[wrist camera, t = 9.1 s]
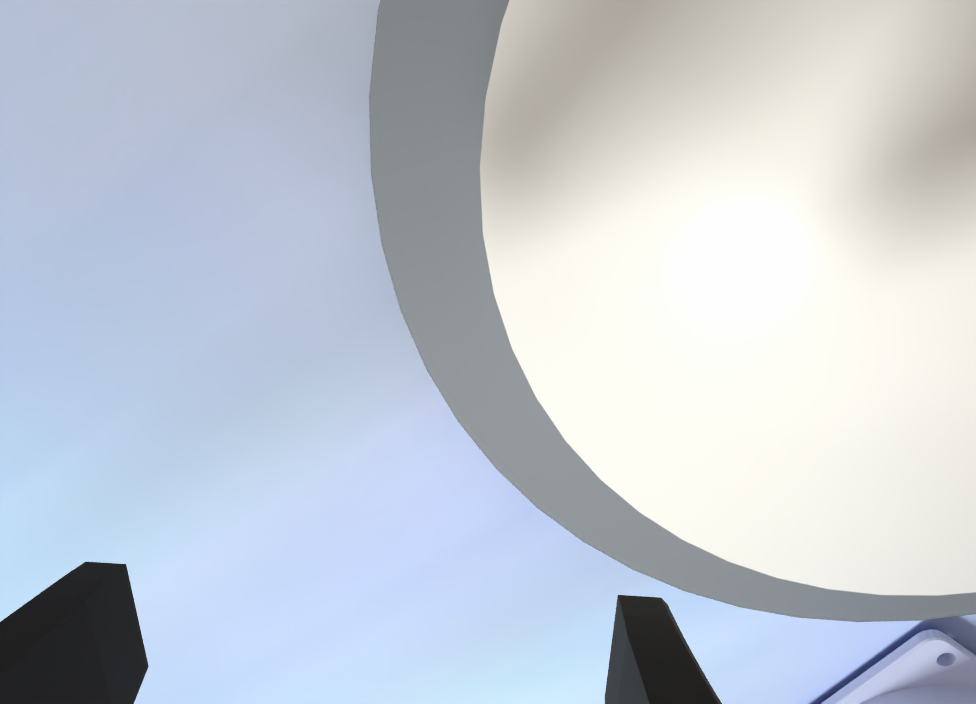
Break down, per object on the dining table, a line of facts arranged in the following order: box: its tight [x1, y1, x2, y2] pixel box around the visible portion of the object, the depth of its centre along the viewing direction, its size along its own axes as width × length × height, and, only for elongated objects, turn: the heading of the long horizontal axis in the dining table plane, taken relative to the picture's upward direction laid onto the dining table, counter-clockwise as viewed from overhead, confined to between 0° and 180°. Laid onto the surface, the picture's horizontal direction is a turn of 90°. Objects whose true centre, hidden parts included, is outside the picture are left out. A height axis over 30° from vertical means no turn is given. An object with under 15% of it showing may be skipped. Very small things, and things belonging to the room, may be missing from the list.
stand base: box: [369, 0, 976, 622], centre depth 17 cm, size 25×25×1 cm
